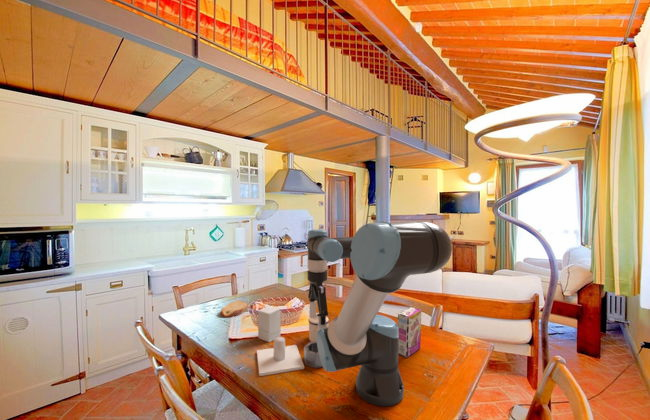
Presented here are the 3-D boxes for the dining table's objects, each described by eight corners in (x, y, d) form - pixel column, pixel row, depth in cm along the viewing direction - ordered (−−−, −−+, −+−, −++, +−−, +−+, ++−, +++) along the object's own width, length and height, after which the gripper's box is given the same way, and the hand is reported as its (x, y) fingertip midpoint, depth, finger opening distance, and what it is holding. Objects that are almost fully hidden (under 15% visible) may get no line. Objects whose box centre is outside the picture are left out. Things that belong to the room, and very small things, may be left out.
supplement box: (281, 336, 125) (281, 308, 125) (268, 342, 119) (268, 313, 119) (269, 331, 129) (269, 305, 129) (257, 338, 123) (257, 310, 123)
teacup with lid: (322, 346, 116) (322, 319, 116) (304, 340, 121) (304, 314, 121) (335, 334, 127) (335, 309, 126) (318, 330, 131) (318, 306, 131)
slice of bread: (243, 302, 169) (243, 296, 169) (256, 311, 155) (256, 305, 155) (213, 309, 158) (213, 303, 158) (223, 320, 144) (223, 312, 144)
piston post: (304, 368, 100) (304, 347, 100) (259, 376, 96) (259, 353, 96) (296, 347, 116) (296, 328, 115) (257, 352, 111) (257, 333, 111)
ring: (332, 365, 103) (333, 352, 102) (307, 369, 100) (307, 355, 100) (325, 352, 112) (325, 339, 112) (302, 355, 109) (302, 343, 109)
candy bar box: (408, 358, 107) (408, 317, 107) (396, 354, 111) (396, 313, 110) (421, 348, 115) (421, 309, 115) (410, 344, 118) (410, 306, 118)
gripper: (337, 277, 94) (336, 338, 95) (318, 262, 118) (318, 311, 119) (316, 279, 92) (315, 341, 93) (301, 263, 116) (301, 313, 117)
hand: (317, 324), depth 106 cm, fingers open, 13 cm apart
